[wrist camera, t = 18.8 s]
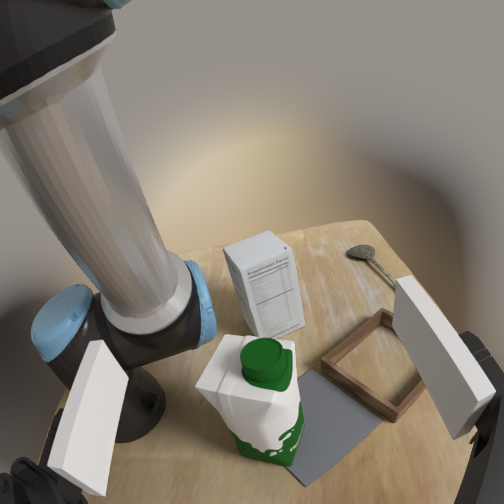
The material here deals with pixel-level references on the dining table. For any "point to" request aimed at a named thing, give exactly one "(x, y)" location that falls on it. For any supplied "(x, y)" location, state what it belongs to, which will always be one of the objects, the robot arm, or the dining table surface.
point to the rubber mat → (327, 426)
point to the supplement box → (266, 285)
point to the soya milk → (256, 395)
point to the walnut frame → (356, 386)
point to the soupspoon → (368, 257)
